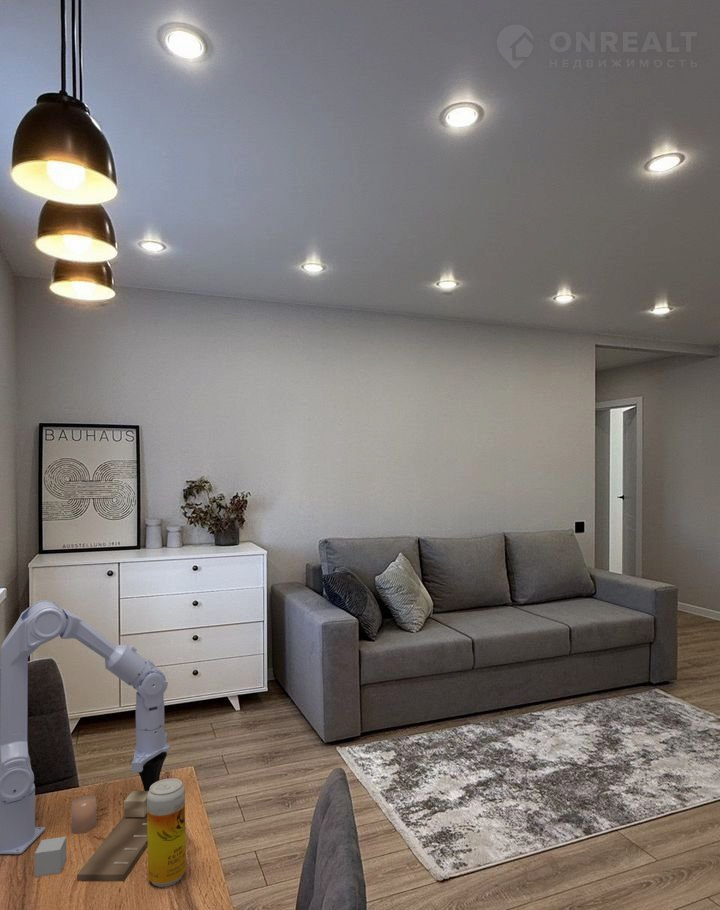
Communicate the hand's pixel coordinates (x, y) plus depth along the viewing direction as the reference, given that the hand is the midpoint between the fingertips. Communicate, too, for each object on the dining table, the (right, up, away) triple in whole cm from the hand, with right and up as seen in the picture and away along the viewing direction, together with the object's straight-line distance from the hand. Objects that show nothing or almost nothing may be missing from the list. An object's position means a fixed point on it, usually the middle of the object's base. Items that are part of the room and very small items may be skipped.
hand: (150, 791), depth 128 cm
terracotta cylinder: (-10, -2, -9) cm, 14 cm away
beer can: (+11, -1, -25) cm, 28 cm away
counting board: (+1, -1, -15) cm, 15 cm away
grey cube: (-10, -1, -22) cm, 24 cm away
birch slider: (+1, 0, -7) cm, 7 cm away
